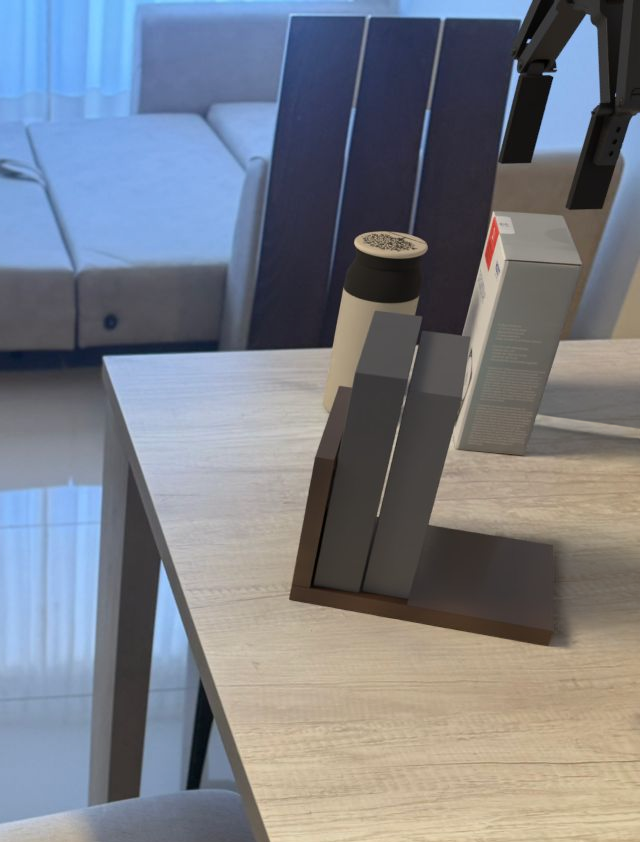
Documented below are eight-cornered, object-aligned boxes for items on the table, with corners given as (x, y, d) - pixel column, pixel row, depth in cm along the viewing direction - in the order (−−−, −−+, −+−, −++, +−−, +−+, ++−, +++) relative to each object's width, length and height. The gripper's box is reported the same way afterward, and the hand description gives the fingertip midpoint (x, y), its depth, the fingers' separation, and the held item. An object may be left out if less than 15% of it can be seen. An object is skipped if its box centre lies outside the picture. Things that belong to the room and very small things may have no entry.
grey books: (421, 525, 109) (474, 322, 96) (408, 602, 99) (465, 387, 87) (334, 511, 111) (374, 310, 98) (312, 585, 101) (354, 372, 88)
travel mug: (353, 429, 128) (388, 258, 116) (307, 403, 133) (336, 236, 121) (407, 415, 131) (447, 247, 119) (360, 389, 136) (394, 226, 124)
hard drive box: (445, 392, 136) (492, 209, 122) (513, 398, 135) (567, 214, 121) (452, 450, 124) (505, 255, 111) (526, 457, 123) (588, 261, 110)
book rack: (548, 558, 108) (597, 420, 99) (548, 646, 97) (602, 500, 88) (313, 520, 113) (339, 385, 104) (288, 599, 102) (314, 457, 93)
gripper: (515, -156, 90) (449, 146, 105) (676, -132, 72) (569, 231, 86) (607, -157, 91) (528, 145, 105) (789, -132, 73) (664, 228, 87)
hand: (547, 184), depth 96 cm, fingers open, 13 cm apart
